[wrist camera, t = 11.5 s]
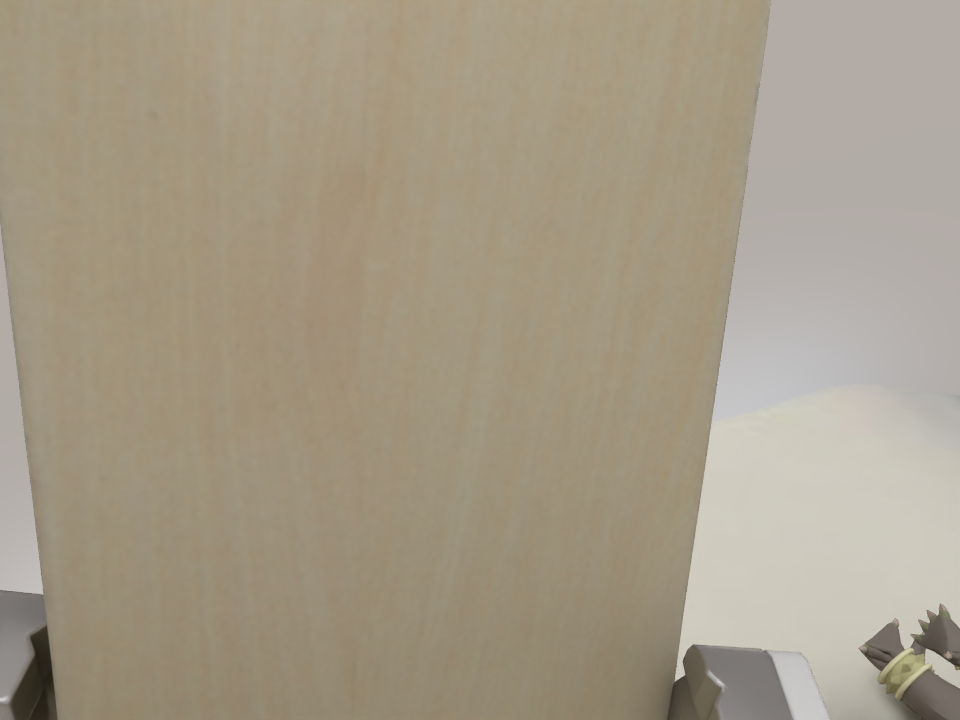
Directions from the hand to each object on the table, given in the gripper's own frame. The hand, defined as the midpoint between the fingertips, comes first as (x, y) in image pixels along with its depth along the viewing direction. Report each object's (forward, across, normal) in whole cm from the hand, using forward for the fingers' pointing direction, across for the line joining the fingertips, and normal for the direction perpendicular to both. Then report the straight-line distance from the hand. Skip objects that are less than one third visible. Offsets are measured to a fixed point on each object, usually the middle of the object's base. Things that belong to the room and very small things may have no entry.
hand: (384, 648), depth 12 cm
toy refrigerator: (-1, 0, +12) cm, 12 cm away
